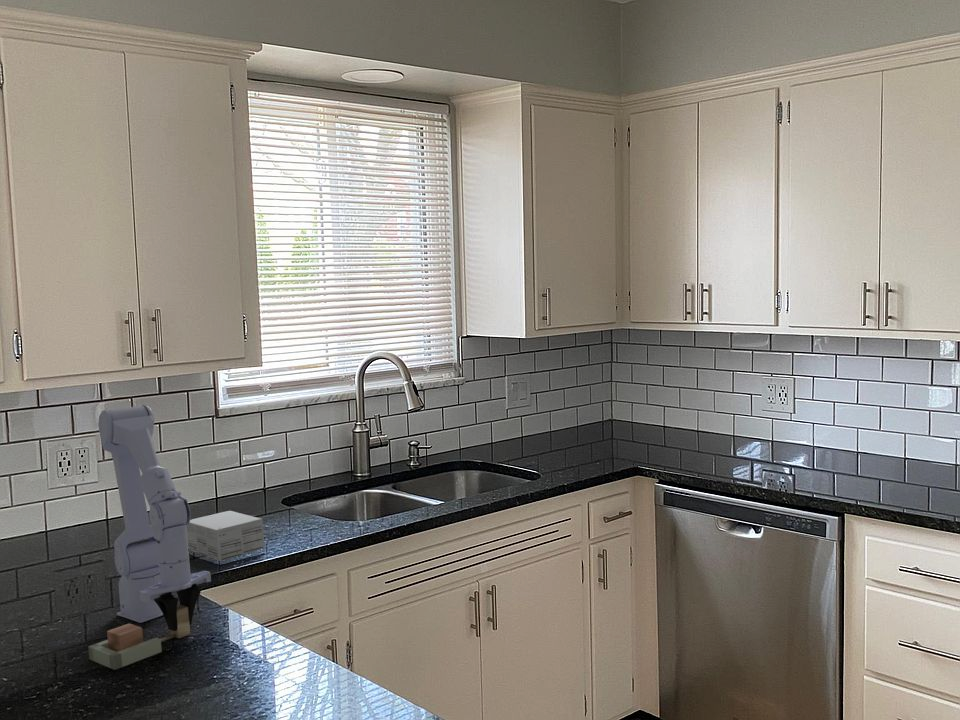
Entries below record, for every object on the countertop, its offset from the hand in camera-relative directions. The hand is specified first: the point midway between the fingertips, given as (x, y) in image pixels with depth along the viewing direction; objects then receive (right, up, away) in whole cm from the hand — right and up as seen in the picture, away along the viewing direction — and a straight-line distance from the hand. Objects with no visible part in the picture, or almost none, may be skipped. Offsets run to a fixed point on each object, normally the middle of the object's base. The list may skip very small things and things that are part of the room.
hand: (180, 626), depth 184 cm
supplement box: (-6, +2, +56) cm, 56 cm away
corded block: (-4, -2, -5) cm, 6 cm away
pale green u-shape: (-7, -3, -9) cm, 12 cm away
